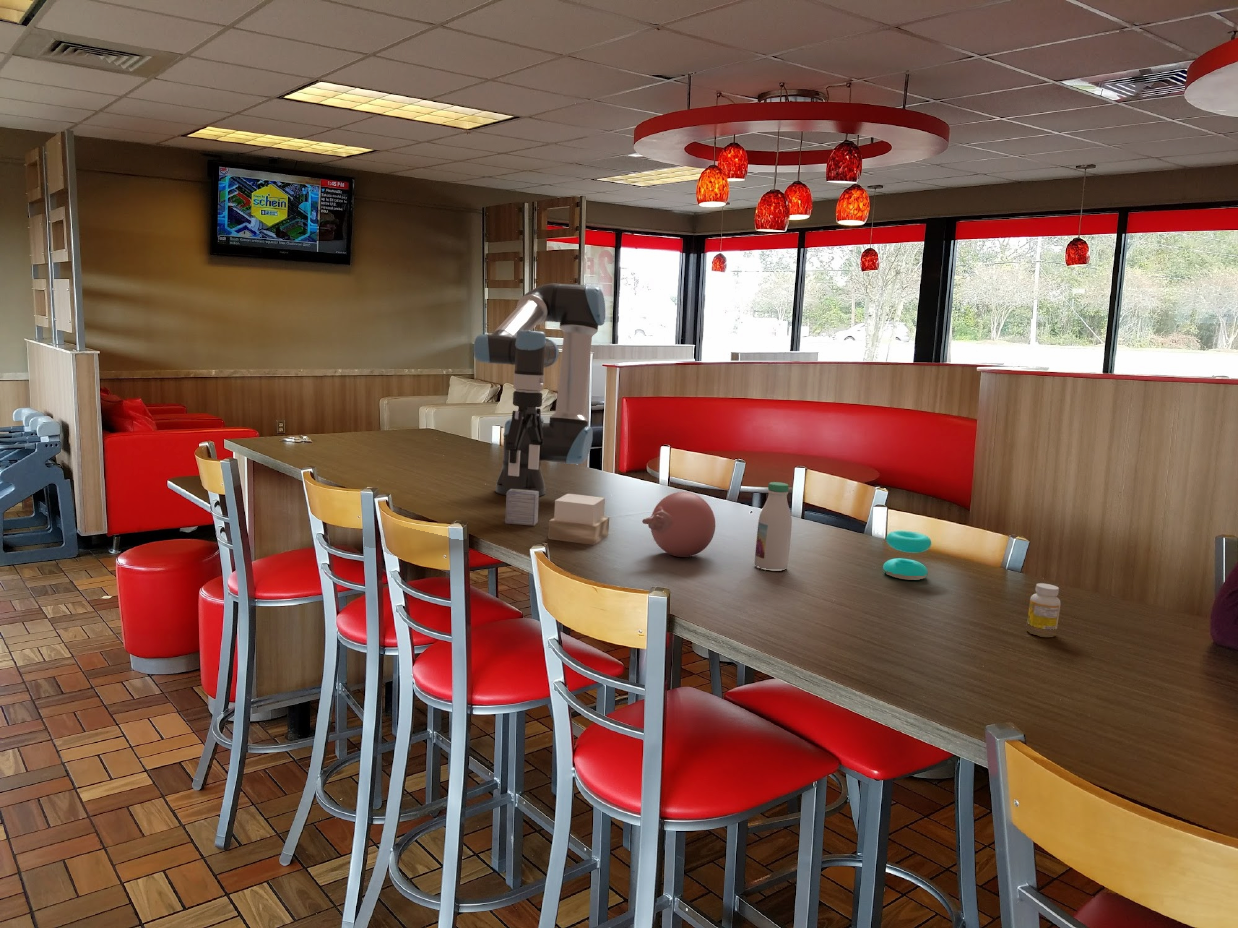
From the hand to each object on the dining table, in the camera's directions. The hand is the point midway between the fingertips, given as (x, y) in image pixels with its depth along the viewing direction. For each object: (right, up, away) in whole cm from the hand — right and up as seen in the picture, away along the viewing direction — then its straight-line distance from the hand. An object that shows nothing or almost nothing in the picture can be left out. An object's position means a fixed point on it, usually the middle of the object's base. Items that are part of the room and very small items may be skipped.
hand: (523, 472), depth 240 cm
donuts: (+92, -24, -25) cm, 98 cm away
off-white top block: (+15, -12, -9) cm, 21 cm away
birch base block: (+15, -17, -8) cm, 24 cm away
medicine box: (-1, -14, +3) cm, 14 cm away
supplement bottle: (+107, -31, -62) cm, 127 cm away
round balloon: (+38, -20, -22) cm, 48 cm away
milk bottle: (+60, -22, -26) cm, 69 cm away
